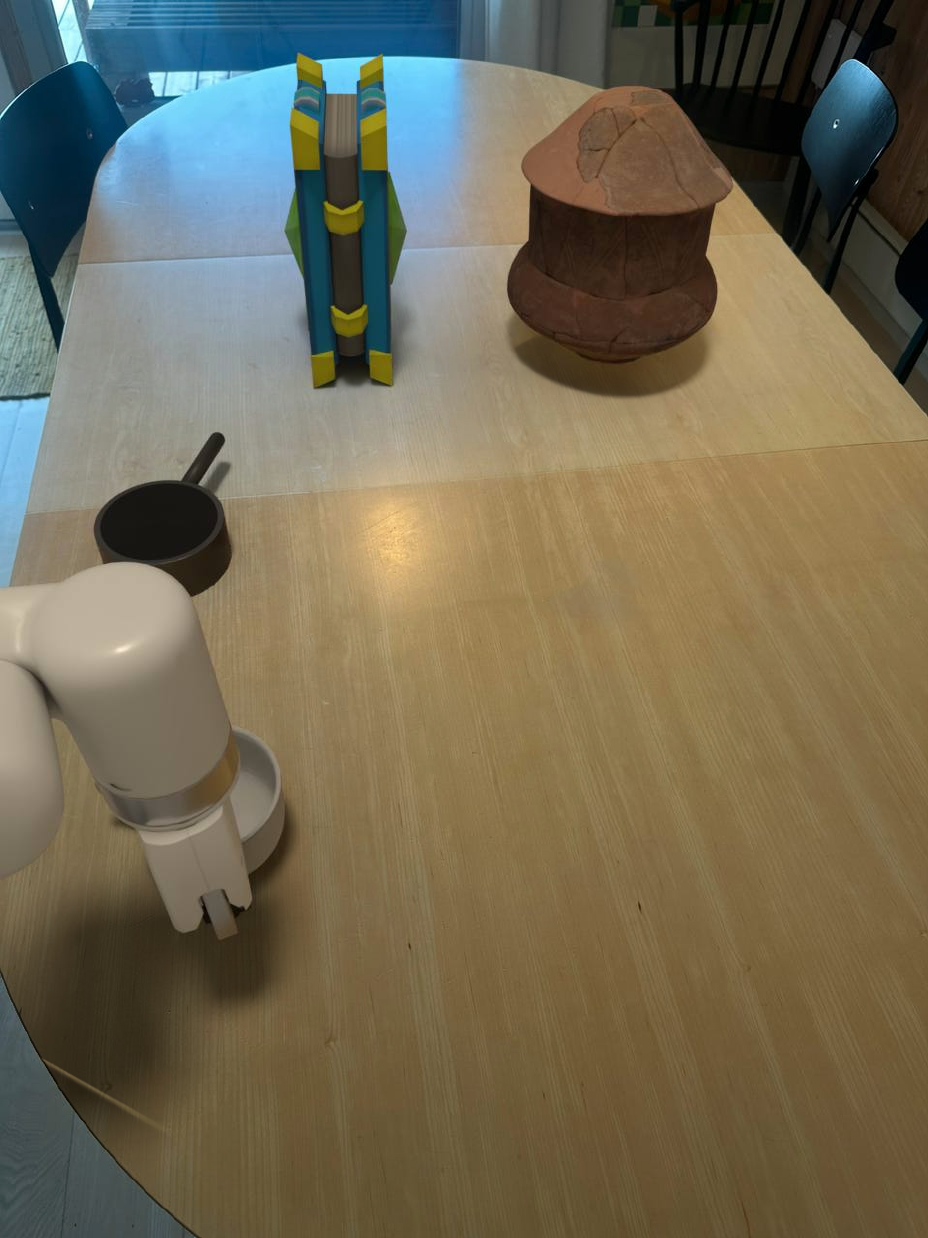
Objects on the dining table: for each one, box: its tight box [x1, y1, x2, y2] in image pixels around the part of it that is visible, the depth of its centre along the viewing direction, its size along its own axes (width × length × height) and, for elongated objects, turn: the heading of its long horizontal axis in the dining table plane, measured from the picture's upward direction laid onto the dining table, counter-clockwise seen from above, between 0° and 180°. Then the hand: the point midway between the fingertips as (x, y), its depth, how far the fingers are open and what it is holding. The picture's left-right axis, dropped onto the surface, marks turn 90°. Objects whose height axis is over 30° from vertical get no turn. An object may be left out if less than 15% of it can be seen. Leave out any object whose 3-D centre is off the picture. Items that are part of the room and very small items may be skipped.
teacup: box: [94, 724, 286, 876], centre depth 72 cm, size 14×11×8 cm
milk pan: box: [93, 431, 232, 598], centre depth 96 cm, size 12×21×5 cm, turn 168°
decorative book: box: [283, 52, 408, 389], centre depth 112 cm, size 14×23×30 cm, turn 4°
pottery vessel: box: [506, 85, 734, 365], centre depth 113 cm, size 26×26×30 cm
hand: (226, 906), depth 67 cm, fingers closed
